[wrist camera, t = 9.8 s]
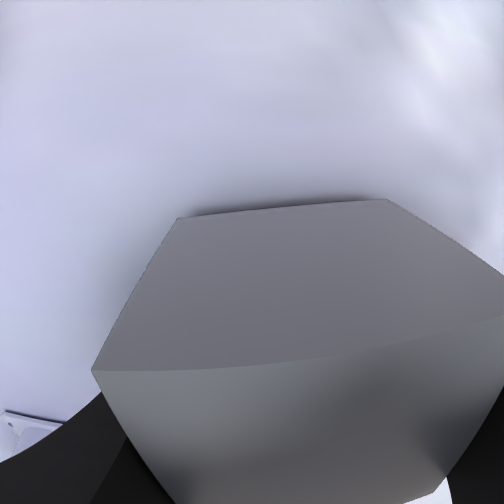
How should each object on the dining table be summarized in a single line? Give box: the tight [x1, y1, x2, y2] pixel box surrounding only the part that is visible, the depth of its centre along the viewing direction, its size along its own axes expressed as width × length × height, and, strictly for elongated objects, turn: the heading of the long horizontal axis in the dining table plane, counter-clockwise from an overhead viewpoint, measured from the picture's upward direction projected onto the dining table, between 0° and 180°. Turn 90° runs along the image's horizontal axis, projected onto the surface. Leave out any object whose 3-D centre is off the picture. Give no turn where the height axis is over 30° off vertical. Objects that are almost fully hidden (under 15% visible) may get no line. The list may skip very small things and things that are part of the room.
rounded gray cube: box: [91, 199, 504, 504], centre depth 7 cm, size 6×6×6 cm
